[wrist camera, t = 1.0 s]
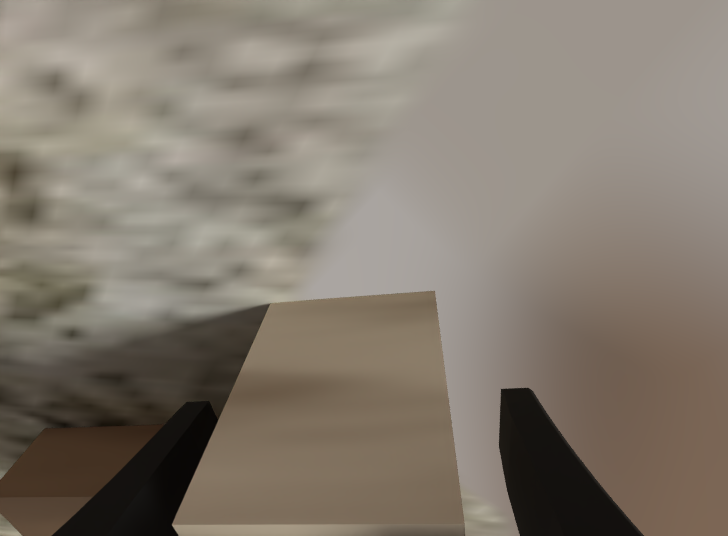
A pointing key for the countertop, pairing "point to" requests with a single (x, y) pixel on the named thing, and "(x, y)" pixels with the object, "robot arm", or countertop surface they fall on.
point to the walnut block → (66, 473)
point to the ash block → (334, 428)
